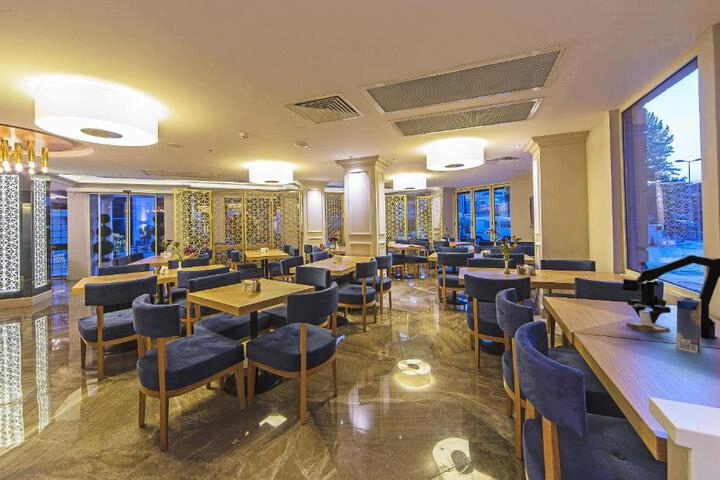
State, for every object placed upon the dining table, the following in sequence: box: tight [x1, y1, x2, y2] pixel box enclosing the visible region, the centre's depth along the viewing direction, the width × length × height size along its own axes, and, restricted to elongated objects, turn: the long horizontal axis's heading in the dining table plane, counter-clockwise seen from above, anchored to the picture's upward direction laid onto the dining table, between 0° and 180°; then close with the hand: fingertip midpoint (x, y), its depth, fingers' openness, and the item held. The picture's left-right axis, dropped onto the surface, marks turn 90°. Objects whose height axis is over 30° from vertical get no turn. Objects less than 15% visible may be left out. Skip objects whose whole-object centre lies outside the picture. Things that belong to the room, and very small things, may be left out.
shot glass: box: [639, 309, 656, 326], centre depth 163 cm, size 7×7×7 cm
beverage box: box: [675, 296, 702, 354], centre depth 137 cm, size 7×11×22 cm, turn 130°
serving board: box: [625, 321, 671, 333], centre depth 163 cm, size 12×12×2 cm
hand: (647, 321), depth 163 cm, fingers closed on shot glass, 6 cm apart
